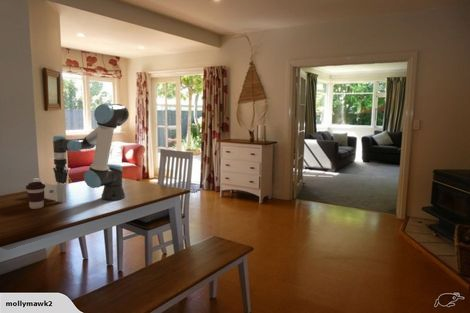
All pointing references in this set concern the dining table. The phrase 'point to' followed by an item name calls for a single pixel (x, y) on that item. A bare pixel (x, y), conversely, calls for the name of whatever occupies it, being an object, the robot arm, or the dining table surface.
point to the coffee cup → (35, 194)
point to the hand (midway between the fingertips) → (61, 192)
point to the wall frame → (60, 191)
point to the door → (50, 191)
